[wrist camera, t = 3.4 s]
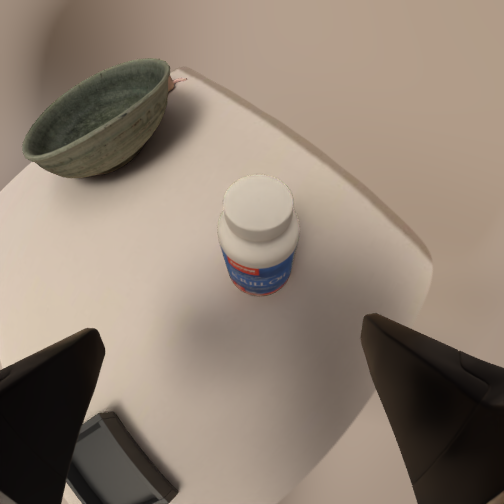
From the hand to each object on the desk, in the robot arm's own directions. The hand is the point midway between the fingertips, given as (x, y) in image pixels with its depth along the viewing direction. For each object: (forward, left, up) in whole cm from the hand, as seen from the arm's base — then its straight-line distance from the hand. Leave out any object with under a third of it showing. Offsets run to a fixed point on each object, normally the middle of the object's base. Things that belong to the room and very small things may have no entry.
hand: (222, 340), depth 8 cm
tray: (+13, +12, -14) cm, 22 cm away
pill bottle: (-1, -8, -14) cm, 16 cm away
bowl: (+19, -26, -14) cm, 35 cm away
